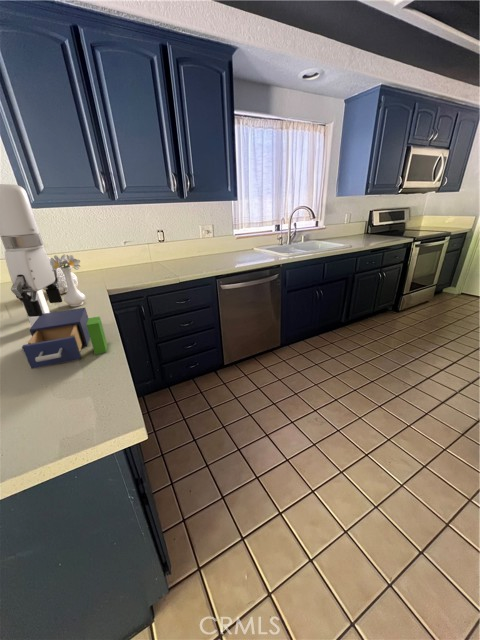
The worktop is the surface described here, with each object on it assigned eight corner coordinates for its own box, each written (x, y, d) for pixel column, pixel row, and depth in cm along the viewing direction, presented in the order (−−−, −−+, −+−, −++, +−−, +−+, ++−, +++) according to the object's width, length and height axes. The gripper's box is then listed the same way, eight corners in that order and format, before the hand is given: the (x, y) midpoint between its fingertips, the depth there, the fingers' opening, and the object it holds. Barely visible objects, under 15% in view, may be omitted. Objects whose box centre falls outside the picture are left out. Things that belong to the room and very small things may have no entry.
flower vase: (92, 297, 144) (79, 250, 134) (88, 308, 129) (73, 256, 118) (65, 300, 140) (49, 252, 130) (57, 312, 124) (39, 259, 114)
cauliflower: (65, 282, 140) (51, 256, 141) (38, 300, 141) (23, 274, 141) (89, 288, 160) (76, 265, 161) (65, 303, 160) (52, 280, 161)
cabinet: (87, 345, 94) (80, 321, 90) (39, 355, 89) (29, 329, 85) (91, 329, 107) (85, 307, 103) (49, 336, 102) (41, 313, 98)
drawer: (78, 367, 80) (71, 344, 77) (26, 378, 76) (16, 354, 73) (85, 340, 96) (80, 321, 93) (42, 348, 91) (34, 328, 88)
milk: (53, 322, 114) (36, 272, 105) (50, 327, 109) (32, 275, 100) (36, 324, 112) (17, 273, 103) (32, 330, 107) (12, 277, 98)
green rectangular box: (95, 354, 89) (86, 325, 84) (96, 346, 94) (88, 318, 89) (106, 352, 90) (98, 323, 85) (107, 344, 95) (99, 316, 90)
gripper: (28, 238, 71) (49, 298, 78) (-23, 249, 55) (9, 323, 62) (58, 237, 71) (76, 297, 78) (16, 247, 56) (43, 321, 63)
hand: (46, 308), depth 70 cm, fingers open, 9 cm apart
